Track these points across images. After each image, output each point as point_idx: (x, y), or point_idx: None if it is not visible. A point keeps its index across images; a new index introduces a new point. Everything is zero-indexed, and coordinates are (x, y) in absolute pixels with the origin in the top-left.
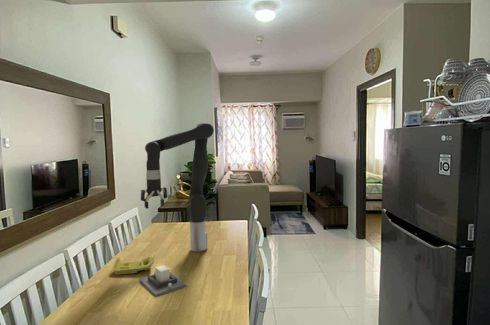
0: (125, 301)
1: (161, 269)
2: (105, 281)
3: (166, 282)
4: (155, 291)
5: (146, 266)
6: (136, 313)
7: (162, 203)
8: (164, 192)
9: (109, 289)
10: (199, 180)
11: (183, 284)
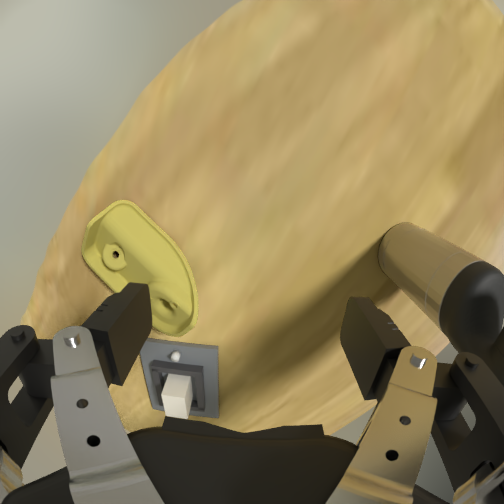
0: None
1: (170, 410)
2: (73, 277)
3: None
4: (155, 402)
5: (159, 329)
6: None
7: (354, 363)
8: (462, 469)
9: (80, 323)
10: None
11: (212, 416)
